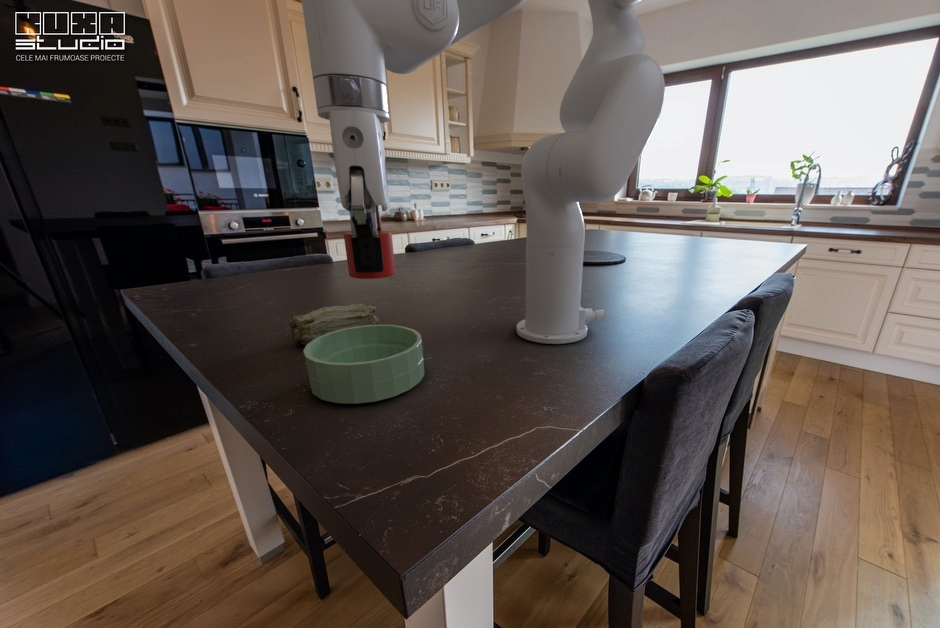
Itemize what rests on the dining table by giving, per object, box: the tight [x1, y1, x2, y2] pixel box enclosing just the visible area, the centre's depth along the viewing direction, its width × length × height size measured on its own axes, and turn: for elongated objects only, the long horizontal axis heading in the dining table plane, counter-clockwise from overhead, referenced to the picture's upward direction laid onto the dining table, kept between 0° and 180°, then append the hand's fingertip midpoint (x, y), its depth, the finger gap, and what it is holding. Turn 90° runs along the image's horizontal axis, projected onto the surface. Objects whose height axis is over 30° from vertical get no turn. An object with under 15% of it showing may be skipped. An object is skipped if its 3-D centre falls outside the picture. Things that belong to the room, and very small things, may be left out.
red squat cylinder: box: [343, 230, 396, 280], centre depth 49 cm, size 6×6×6 cm
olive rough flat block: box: [288, 302, 381, 346], centre depth 67 cm, size 14×10×5 cm, turn 129°
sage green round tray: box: [302, 324, 426, 405], centre depth 52 cm, size 14×14×6 cm
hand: (371, 265), depth 50 cm, fingers closed on red squat cylinder, 5 cm apart
